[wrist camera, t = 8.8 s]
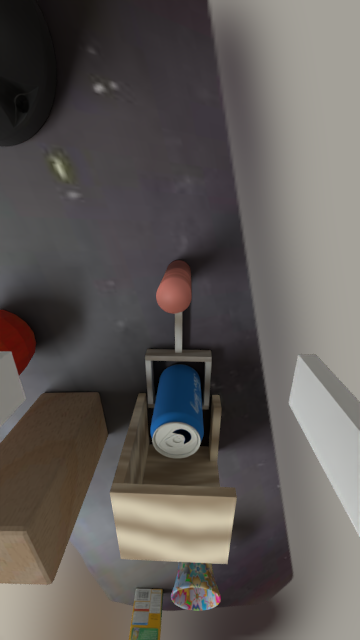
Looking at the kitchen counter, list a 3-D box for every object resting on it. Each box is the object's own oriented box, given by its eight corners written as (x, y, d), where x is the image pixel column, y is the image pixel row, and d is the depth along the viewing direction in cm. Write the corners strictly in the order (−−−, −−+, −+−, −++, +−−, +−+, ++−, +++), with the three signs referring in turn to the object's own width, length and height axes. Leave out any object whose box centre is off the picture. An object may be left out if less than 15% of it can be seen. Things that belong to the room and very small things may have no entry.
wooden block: (99, 390, 41) (26, 532, 22) (109, 434, 45) (53, 587, 26) (42, 391, 41) (-77, 530, 23) (56, 435, 45) (-36, 584, 27)
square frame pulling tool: (142, 259, 32) (120, 279, 22) (215, 260, 32) (228, 280, 22) (150, 399, 41) (137, 459, 31) (207, 400, 40) (213, 461, 30)
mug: (168, 522, 54) (164, 589, 45) (209, 516, 53) (213, 584, 43) (185, 552, 59) (184, 618, 49) (222, 546, 57) (229, 614, 48)
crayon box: (137, 593, 67) (127, 663, 57) (135, 587, 66) (125, 658, 56) (163, 593, 67) (158, 665, 56) (162, 588, 66) (157, 660, 55)
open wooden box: (138, 393, 41) (109, 492, 26) (219, 395, 40) (236, 497, 26) (143, 449, 46) (121, 558, 31) (215, 451, 45) (227, 564, 31)
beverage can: (208, 381, 39) (215, 445, 28) (177, 401, 41) (172, 468, 30) (183, 354, 38) (180, 411, 27) (151, 375, 39) (137, 437, 28)
